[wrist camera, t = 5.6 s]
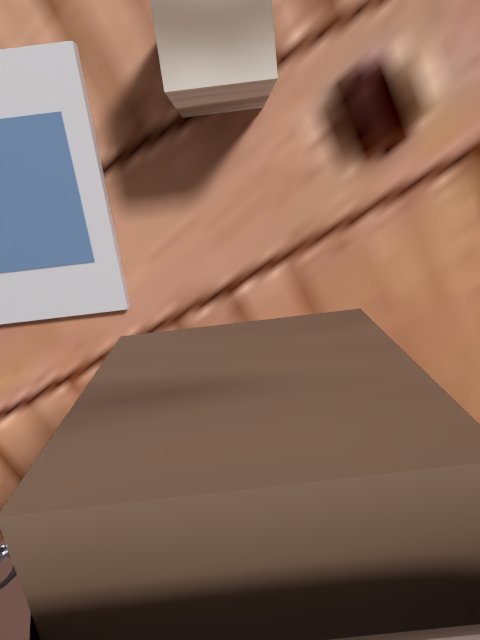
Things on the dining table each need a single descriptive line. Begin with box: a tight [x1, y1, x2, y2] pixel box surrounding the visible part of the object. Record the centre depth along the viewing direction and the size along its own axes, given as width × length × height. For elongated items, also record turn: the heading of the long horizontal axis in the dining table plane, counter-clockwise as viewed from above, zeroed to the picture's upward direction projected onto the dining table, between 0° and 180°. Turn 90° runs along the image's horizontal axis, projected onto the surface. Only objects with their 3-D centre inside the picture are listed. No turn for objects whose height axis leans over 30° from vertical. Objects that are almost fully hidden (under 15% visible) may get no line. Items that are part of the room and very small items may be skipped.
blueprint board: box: [0, 41, 130, 324], centre depth 27 cm, size 16×12×1 cm
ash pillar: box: [150, 0, 278, 118], centre depth 22 cm, size 5×5×8 cm
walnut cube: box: [0, 309, 480, 640], centre depth 9 cm, size 6×6×6 cm
